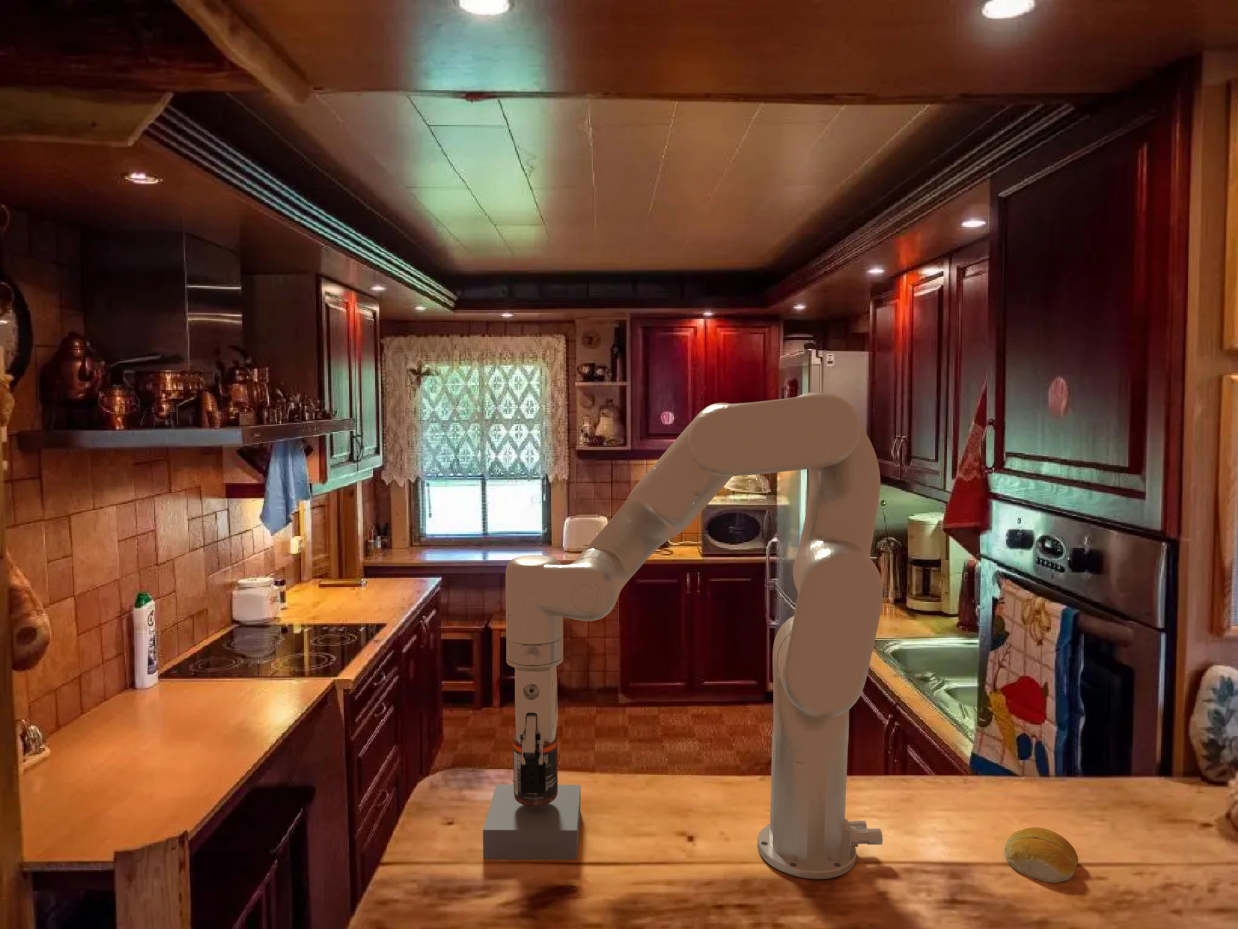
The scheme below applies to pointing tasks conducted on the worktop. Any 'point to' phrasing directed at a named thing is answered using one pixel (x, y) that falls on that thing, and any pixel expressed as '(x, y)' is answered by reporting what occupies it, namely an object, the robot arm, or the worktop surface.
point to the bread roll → (1041, 854)
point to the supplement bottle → (551, 774)
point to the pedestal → (532, 826)
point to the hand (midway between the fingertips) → (535, 778)
